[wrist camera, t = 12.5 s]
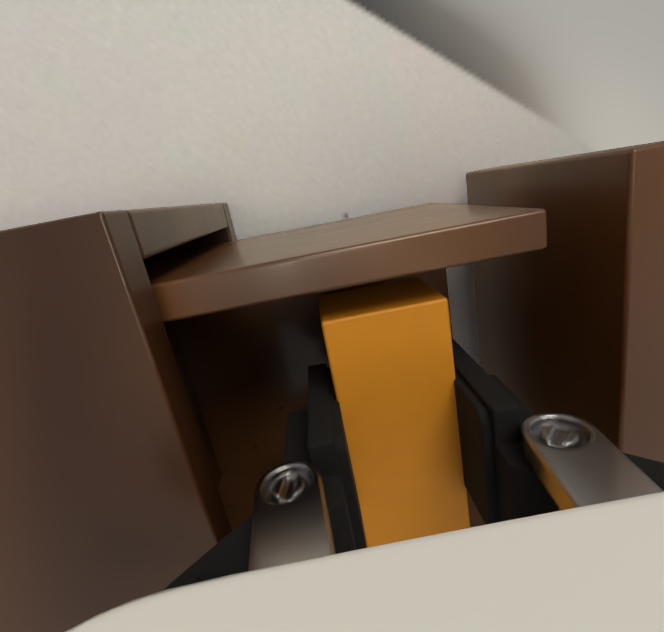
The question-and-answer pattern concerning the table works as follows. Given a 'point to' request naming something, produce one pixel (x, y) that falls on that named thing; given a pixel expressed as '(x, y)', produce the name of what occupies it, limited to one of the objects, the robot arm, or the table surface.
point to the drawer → (430, 265)
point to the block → (398, 407)
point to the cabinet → (97, 419)
